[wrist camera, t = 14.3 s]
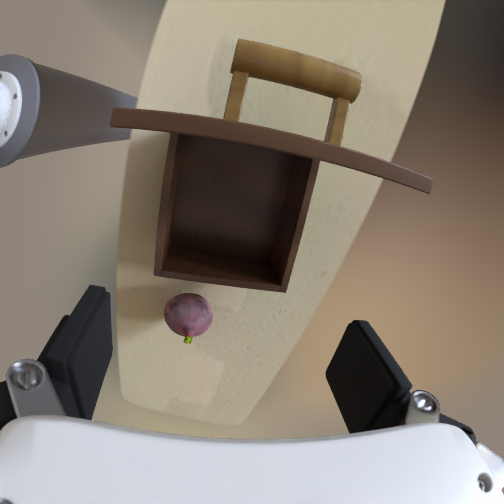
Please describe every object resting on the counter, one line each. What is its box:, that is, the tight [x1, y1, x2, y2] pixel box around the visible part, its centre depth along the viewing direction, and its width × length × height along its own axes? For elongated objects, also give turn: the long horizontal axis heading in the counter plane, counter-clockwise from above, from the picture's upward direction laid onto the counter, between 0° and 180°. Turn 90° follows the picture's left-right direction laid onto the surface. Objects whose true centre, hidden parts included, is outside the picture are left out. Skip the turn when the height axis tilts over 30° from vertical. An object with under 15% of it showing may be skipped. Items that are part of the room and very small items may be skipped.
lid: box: [110, 39, 434, 194], centre depth 18 cm, size 16×15×5 cm
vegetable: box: [164, 293, 212, 344], centre depth 37 cm, size 6×6×10 cm
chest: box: [154, 133, 320, 293], centre depth 33 cm, size 16×15×8 cm
